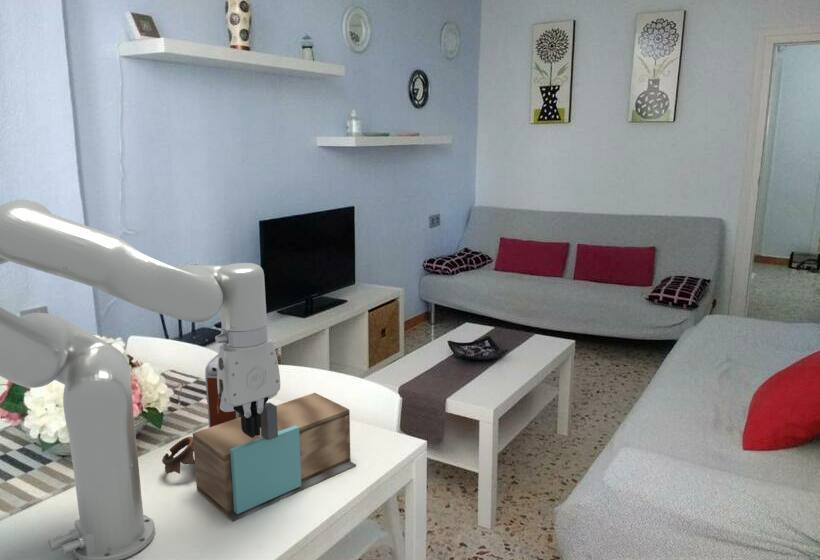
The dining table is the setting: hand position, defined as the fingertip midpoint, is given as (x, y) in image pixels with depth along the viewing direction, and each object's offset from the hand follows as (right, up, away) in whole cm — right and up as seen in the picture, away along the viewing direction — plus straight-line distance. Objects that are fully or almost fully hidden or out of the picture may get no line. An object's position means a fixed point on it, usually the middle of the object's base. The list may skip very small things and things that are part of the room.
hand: (251, 433), depth 113 cm
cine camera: (-11, -8, +34) cm, 36 cm away
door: (+2, -13, +5) cm, 14 cm away
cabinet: (+1, -12, +14) cm, 19 cm away
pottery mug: (-16, -12, +17) cm, 26 cm away
